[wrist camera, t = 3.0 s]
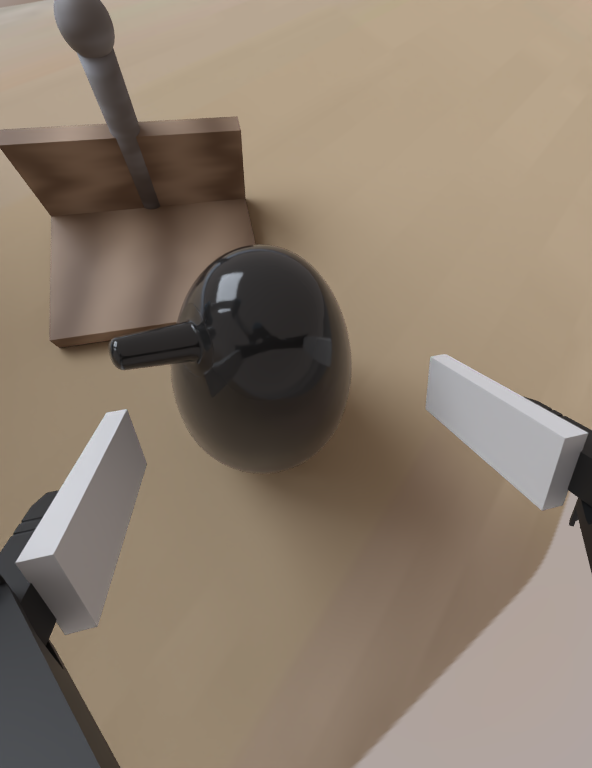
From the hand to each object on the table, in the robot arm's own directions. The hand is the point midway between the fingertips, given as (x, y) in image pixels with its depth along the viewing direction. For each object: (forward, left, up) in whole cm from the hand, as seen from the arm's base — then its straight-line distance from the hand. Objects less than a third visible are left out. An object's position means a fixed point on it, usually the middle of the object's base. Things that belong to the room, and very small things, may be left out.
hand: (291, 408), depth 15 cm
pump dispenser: (-1, +3, -10) cm, 11 cm away
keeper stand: (-7, +17, -10) cm, 21 cm away
